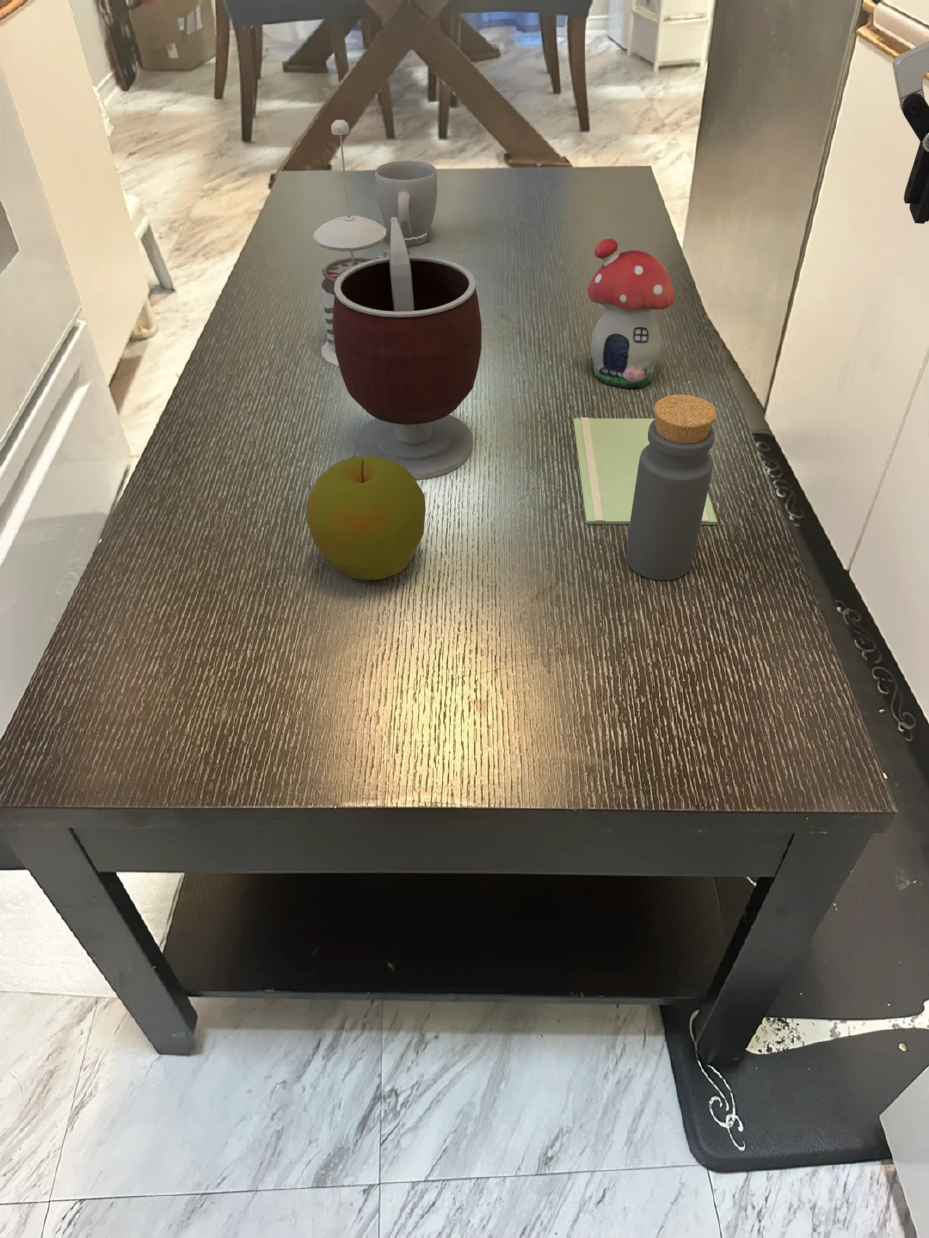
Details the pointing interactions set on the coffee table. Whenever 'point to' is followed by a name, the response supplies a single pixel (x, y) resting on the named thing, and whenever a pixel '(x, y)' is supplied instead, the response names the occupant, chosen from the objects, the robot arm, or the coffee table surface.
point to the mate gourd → (409, 355)
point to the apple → (366, 517)
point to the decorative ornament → (627, 315)
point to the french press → (343, 249)
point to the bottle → (671, 488)
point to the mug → (407, 196)
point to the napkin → (613, 467)
